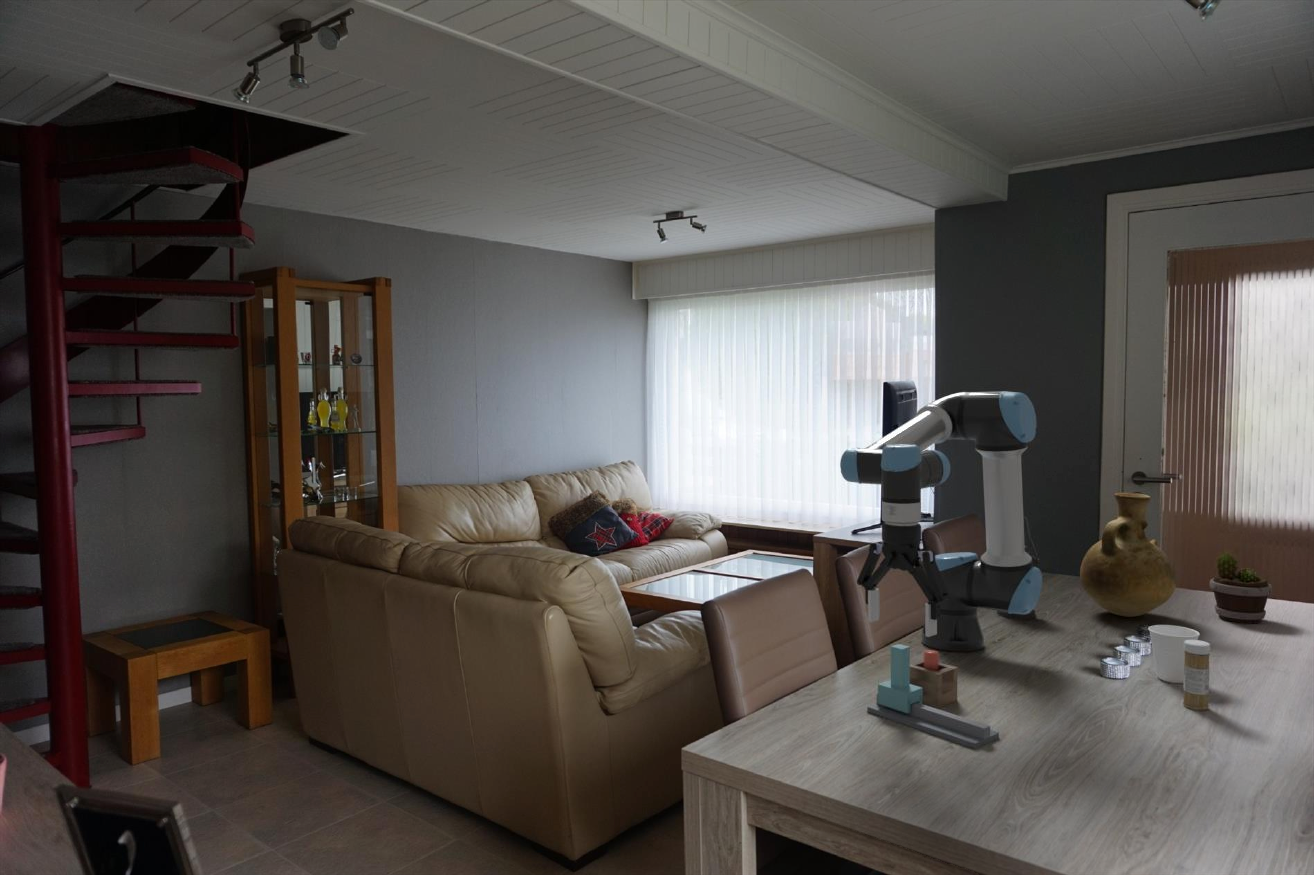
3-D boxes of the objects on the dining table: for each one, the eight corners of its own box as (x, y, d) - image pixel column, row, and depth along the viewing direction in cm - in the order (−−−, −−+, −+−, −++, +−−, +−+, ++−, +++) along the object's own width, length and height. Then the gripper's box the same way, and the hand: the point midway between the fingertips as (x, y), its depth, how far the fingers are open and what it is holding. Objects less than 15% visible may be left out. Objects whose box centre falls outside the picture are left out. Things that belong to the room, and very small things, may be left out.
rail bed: (867, 711, 176) (867, 697, 176) (891, 702, 181) (891, 688, 181) (975, 748, 157) (975, 732, 157) (998, 737, 162) (999, 722, 162)
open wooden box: (904, 697, 184) (904, 665, 183) (924, 690, 188) (924, 658, 188) (937, 708, 177) (938, 674, 177) (957, 700, 182) (957, 667, 181)
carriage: (877, 703, 176) (878, 645, 175) (893, 698, 179) (893, 640, 178) (907, 713, 170) (907, 653, 170) (922, 707, 173) (922, 648, 173)
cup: (1206, 688, 188) (1207, 637, 188) (1156, 685, 190) (1157, 635, 190) (1188, 673, 198) (1189, 625, 197) (1140, 671, 200) (1141, 623, 199)
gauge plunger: (920, 672, 183) (920, 651, 182) (929, 669, 185) (929, 649, 184) (933, 676, 180) (933, 655, 180) (941, 673, 182) (941, 652, 182)
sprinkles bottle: (1191, 701, 180) (1193, 637, 179) (1213, 709, 176) (1215, 643, 175) (1177, 705, 178) (1179, 640, 177) (1199, 712, 174) (1201, 646, 173)
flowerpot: (1269, 616, 247) (1271, 546, 246) (1272, 629, 234) (1274, 555, 233) (1208, 610, 254) (1210, 542, 253) (1208, 622, 241) (1210, 550, 240)
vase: (1139, 631, 233) (1142, 501, 231) (1060, 611, 254) (1063, 492, 252) (1193, 620, 244) (1196, 495, 242) (1113, 601, 265) (1116, 487, 263)
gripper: (839, 517, 180) (840, 618, 181) (945, 532, 160) (945, 645, 162) (862, 513, 185) (863, 612, 186) (968, 527, 165) (968, 637, 167)
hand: (901, 628), depth 174 cm, fingers open, 13 cm apart
